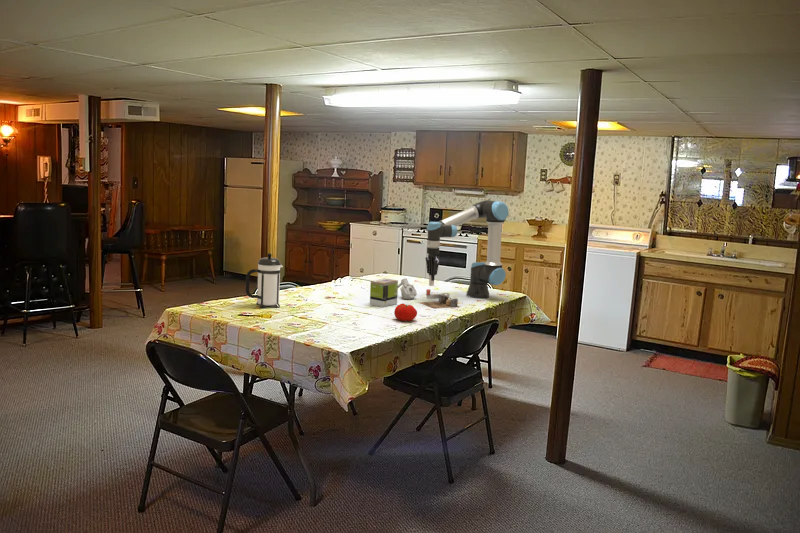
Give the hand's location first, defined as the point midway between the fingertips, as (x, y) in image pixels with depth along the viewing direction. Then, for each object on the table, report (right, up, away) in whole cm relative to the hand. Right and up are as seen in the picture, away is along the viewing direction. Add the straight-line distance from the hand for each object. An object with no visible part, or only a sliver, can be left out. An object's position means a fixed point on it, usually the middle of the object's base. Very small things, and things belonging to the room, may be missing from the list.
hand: (431, 285), depth 385 cm
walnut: (+10, -12, -6) cm, 17 cm away
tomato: (-16, -18, -46) cm, 52 cm away
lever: (+4, -10, -3) cm, 12 cm away
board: (+5, -13, -4) cm, 14 cm away
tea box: (-29, -11, -8) cm, 32 cm away
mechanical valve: (-19, -8, +19) cm, 28 cm away
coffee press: (-95, -11, -33) cm, 101 cm away
